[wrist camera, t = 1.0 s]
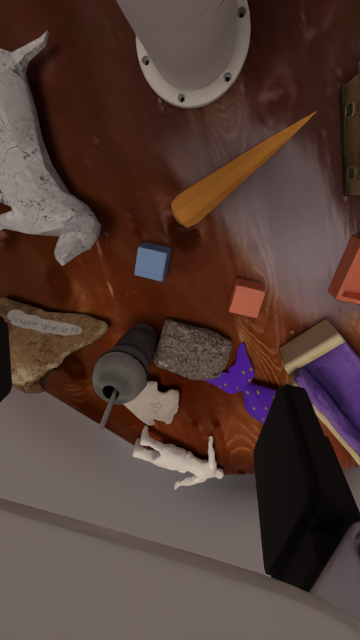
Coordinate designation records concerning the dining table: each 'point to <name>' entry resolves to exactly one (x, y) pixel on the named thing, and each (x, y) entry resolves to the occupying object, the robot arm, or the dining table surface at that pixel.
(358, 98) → the wooden crate
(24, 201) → the statue
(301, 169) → the dining table surface
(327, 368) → the toy sofa
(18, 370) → the rock
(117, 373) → the beverage cup
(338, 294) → the red bin
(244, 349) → the toy
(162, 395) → the decorative object
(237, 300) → the red block
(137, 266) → the blue block
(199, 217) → the carrot
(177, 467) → the figurine
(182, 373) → the stone
